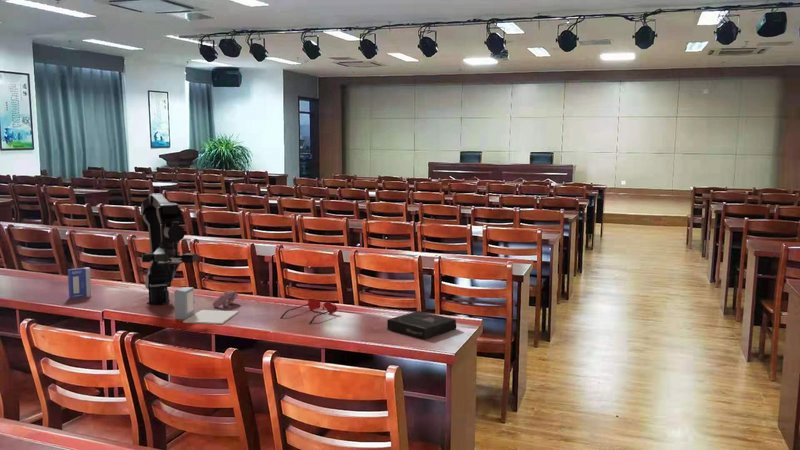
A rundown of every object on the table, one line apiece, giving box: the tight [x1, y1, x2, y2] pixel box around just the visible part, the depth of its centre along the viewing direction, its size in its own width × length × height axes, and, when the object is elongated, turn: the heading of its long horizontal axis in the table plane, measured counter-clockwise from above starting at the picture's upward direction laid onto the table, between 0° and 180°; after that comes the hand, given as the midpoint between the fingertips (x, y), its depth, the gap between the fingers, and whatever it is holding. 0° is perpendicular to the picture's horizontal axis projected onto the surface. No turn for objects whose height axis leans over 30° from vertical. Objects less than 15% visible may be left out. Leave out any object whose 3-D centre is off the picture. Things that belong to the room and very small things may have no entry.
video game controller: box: [212, 289, 239, 308], centre depth 242 cm, size 10×5×7 cm, turn 161°
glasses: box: [279, 298, 339, 325], centre depth 228 cm, size 14×16×5 cm
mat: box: [182, 309, 239, 325], centre depth 224 cm, size 14×16×1 cm
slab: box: [173, 286, 195, 320], centre depth 225 cm, size 4×7×10 cm, turn 174°
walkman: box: [67, 266, 92, 300], centre depth 252 cm, size 8×3×12 cm, turn 134°
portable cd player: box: [386, 310, 457, 341], centre depth 213 cm, size 16×17×4 cm
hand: (170, 281), depth 226 cm, fingers closed
